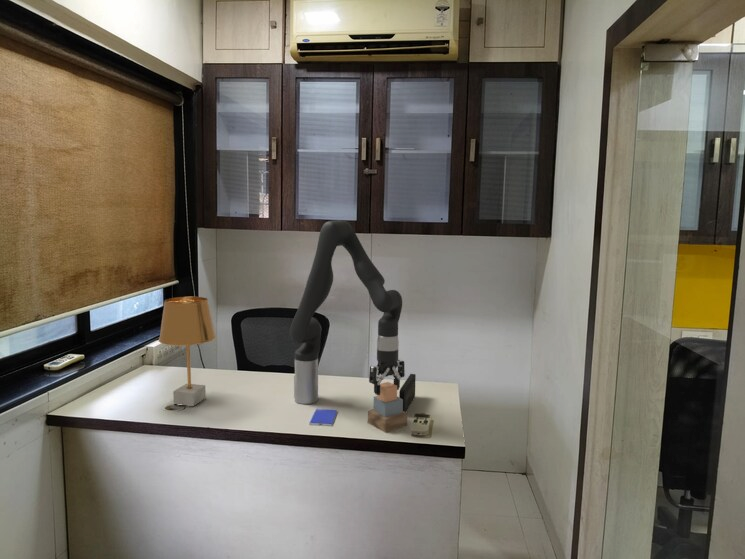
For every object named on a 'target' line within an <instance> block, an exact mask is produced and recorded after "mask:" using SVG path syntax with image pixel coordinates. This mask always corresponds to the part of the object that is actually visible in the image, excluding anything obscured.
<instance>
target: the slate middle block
mask: <svg viewBox="0 0 745 559" xmlns="http://www.w3.org/2000/svg"><path fill="white" fill-rule="evenodd" d="M373 409H374V411H376V412H377V413H379V414H381V415H382V416H384V417H388V416H392V415H397V414H401V413H403V399H401V398H399V396H397V400H393V401H389V402H384V401H382V400H380V399H378V398H377V395H375V396H373Z"/></svg>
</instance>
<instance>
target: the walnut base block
mask: <svg viewBox="0 0 745 559" xmlns="http://www.w3.org/2000/svg"><path fill="white" fill-rule="evenodd" d="M367 424H369V425H371V426H373V428H376V429H377V430H380V431H382V432H383V433H386V434H387V433H389V432H392V431H395V430H398V429H400V428H403V426H404V427H406V425H407V426H408V412H404V411H403V413H401V414H397V415H392V416H388V417H384V416H382V415H381V414H379V413H377V412H376V411H374V408H372V409H369V410H367Z"/></svg>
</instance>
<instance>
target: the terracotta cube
mask: <svg viewBox="0 0 745 559" xmlns="http://www.w3.org/2000/svg"><path fill="white" fill-rule="evenodd" d="M376 396H377V398H378V399H380V400H382V401H384V402H389V401H393V400H397V397H398V390H397V385H394V383H392V382H390V381H387V382H383V383H382V382H381V383H380V395H376Z"/></svg>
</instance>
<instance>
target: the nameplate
mask: <svg viewBox="0 0 745 559" xmlns="http://www.w3.org/2000/svg"><path fill="white" fill-rule="evenodd" d="M398 397H399V398H401V399H403V411H404V412H406V411H407V412H408V409H409V408H410V407H411V405H410V404H412V403H413V401H414V400H413V399H415V397H416V374H415V373H410V374H409V375H408V377H407V379H406V380H405V381H404V383H403V384H402V386H401V387H400V388H399V395H398ZM407 412H406V413H407Z"/></svg>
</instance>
